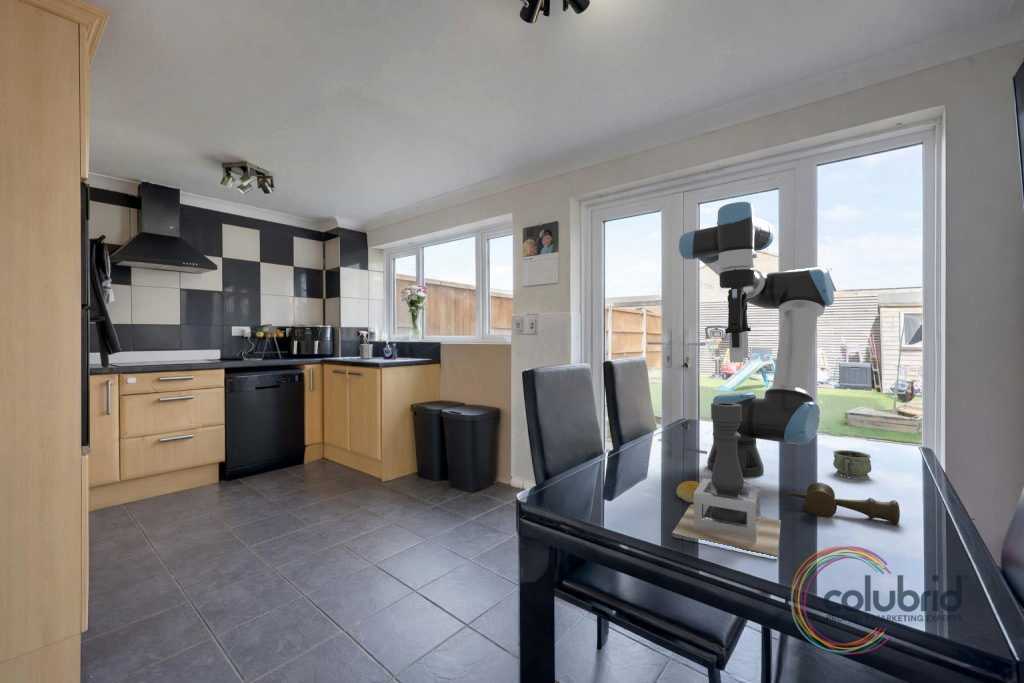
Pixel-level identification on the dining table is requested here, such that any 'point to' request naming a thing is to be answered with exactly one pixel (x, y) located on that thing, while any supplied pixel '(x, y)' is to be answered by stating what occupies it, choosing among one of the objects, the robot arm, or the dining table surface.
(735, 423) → the candle holder
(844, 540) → the dining table surface
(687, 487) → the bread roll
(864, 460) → the vessel
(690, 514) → the stand base
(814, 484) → the kendama
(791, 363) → the robot arm
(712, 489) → the grey cinder block
